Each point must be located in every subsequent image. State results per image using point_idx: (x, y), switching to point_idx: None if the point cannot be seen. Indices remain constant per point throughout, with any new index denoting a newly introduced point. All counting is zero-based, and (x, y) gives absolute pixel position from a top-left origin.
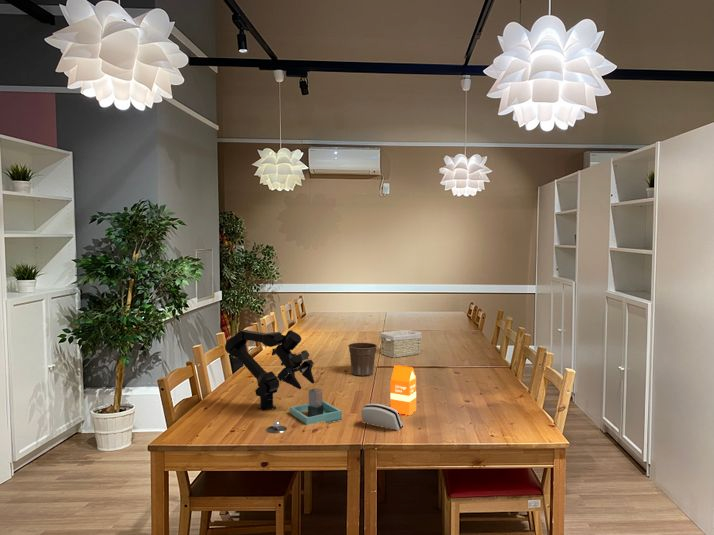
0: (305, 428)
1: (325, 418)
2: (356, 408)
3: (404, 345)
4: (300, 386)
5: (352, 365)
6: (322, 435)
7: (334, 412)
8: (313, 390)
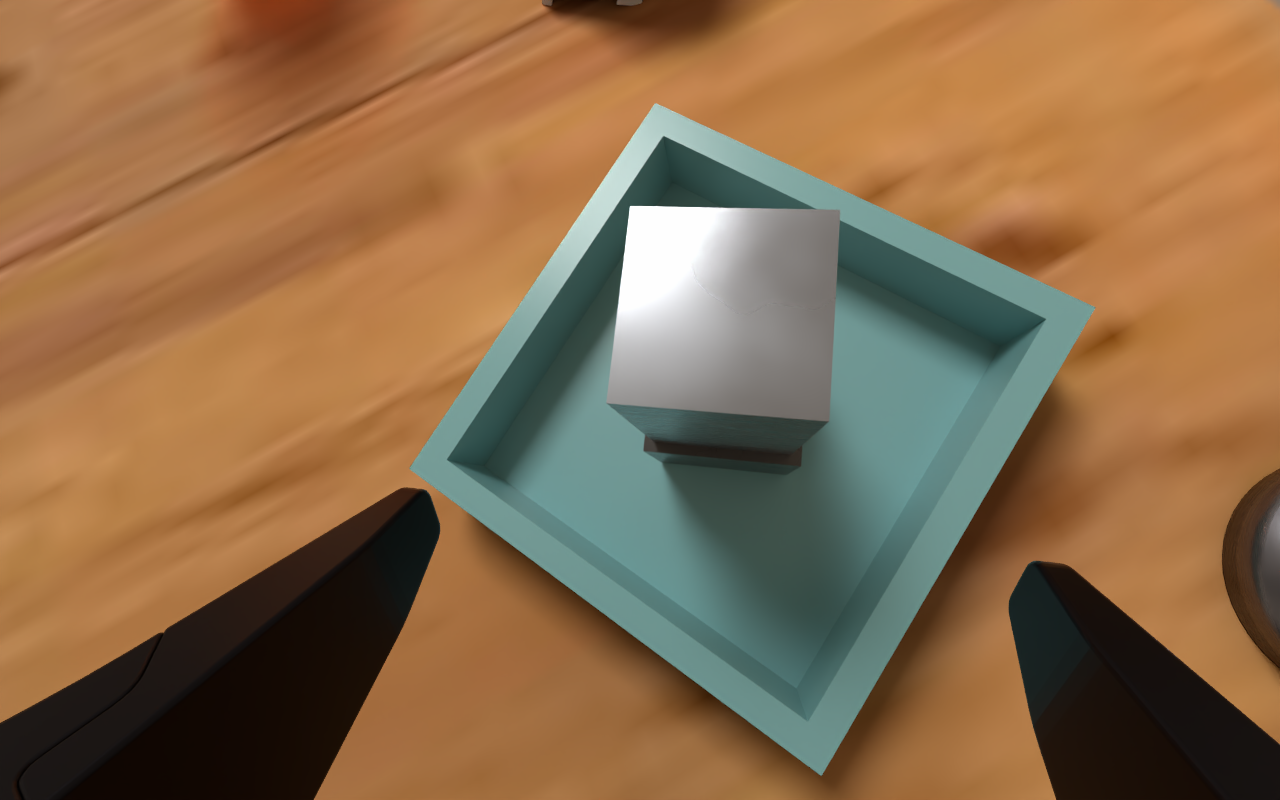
0: None
1: None
2: (336, 214)
3: None
4: (1079, 593)
5: None
6: (1099, 119)
7: (733, 142)
8: (764, 332)
